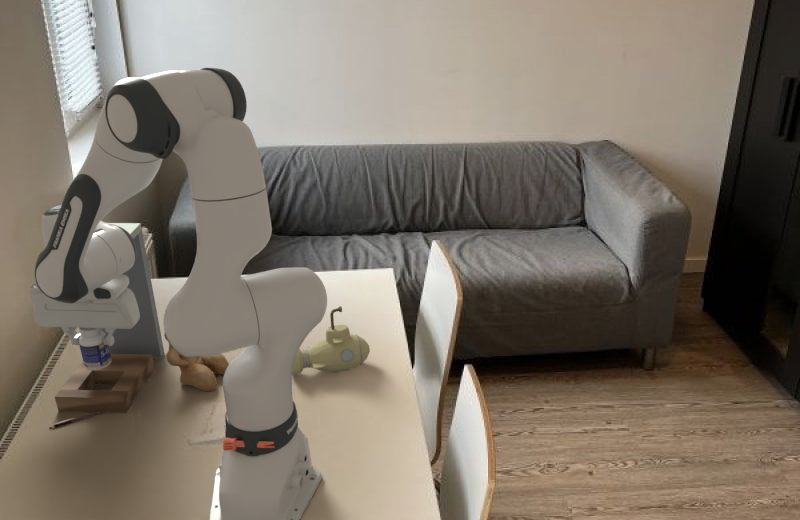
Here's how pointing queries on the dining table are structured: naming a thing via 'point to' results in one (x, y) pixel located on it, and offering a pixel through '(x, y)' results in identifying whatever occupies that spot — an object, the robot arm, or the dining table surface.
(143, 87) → the robot arm
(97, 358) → the pill bottle
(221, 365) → the figurine
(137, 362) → the socket block
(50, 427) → the pen
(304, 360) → the toy
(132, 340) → the grey pedestal stand
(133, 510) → the dining table surface
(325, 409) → the dining table surface
